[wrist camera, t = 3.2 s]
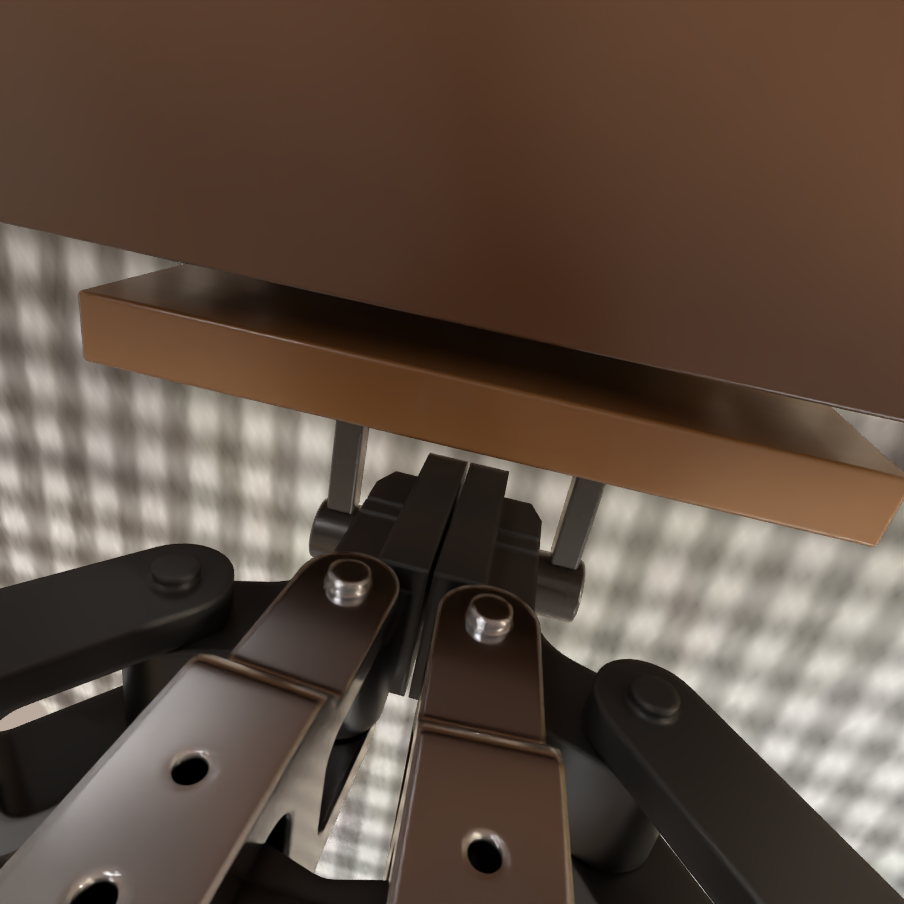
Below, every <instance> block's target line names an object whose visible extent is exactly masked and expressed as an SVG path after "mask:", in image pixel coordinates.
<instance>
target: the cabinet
mask: <svg viewBox="0 0 904 904" xmlns="http://www.w3.org/2000/svg"><path fill="white" fill-rule="evenodd" d="M0 222H1V223H5V224H10V225H14V226H19V227H23V228H28V229H32V230H37V231H41V232H46V233H50V234H55V235H59V236H64V237H69V238H73V239H78V240H82V241H87V242H91V243H96V244H100V245H105V246H109V247H114V248H118V249H123V250H127V251H132V252H136V253H141V254H145V255H150V256H154V257H159V258H163V259H168V260H172V261H177V262H181V263H186V264H190V265H195V266H199V267H204V268H208V269H213V270H217V271H222V272H226V273H231V274H235V275H240V276H245V277H249V278H254V279H258V280H263V281H267V282H272V283H276V284H281V285H285V286H290V287H294V288H299V289H303V290H308V291H312V292H317V293H321V294H326V295H330V296H335V297H339V298H344V299H348V300H353V301H357V302H362V303H366V304H371V305H375V306H380V307H384V308H389V309H393V310H398V311H402V312H407V313H412V314H416V315H421V316H425V317H430V318H434V319H439V320H443V321H448V322H452V323H457V324H461V325H466V326H470V327H475V328H479V329H484V330H488V331H493V332H497V333H502V334H506V335H511V336H515V337H520V338H524V339H529V340H533V341H538V342H542V343H547V344H551V345H556V346H560V347H565V348H569V349H574V350H578V351H583V352H588V353H592V354H597V355H601V356H606V357H610V358H615V359H619V360H624V361H628V362H633V363H637V364H642V365H646V366H651V367H655V368H660V369H664V370H669V371H673V372H678V373H682V374H687V375H691V376H696V377H700V378H705V379H709V380H714V381H718V382H723V383H727V384H732V385H736V386H741V387H745V388H750V389H754V390H759V391H764V392H768V393H773V394H777V395H782V396H786V397H791V398H795V399H800V400H804V401H809V402H813V403H818V404H822V405H827V406H831V407H836V408H840V409H845V410H849V411H854V412H858V413H863V414H867V415H872V416H876V417H881V418H885V419H890V420H894V421H899V422H903V423H904V0H0Z"/></svg>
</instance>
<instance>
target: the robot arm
mask: <svg viewBox="0 0 904 904" xmlns="http://www.w3.org/2000/svg"><path fill="white" fill-rule="evenodd" d="M467 466H468V462H466V461H462V460H458V459H454V458H450V457H445V456H441V455H437V454H433V453H430V454H429V455H428V457H427V459H426V461H425V463H424V465H423V467H422V469H421V471H420V473H419V475H418V477H417V476H413V475H409V474H405V473H401V472H397V471H396V472H394V473H392V474H390V475H388V476H386V477H384V478H383V479H381V480H379V481H377V482H376V484H375V486H374V487H373V489H372V490H371V492H370V494H369V495H368V498H367V499H366V500H365V502H364V503H363V505H362V507H361V508H360V512H358V513H357V515H356V516H355V518H354V520H353V521H352V523H351V524H350V526H349V528H348V529H347V531H346V533H345V534H344V536H343V537H342V539H341V541H340V542H339V544H338V545H337V547H336V549H335V550H334V552H329V553H325V554H321V555H318V556H316V557H314V558H312V559H310V560H309V561H307V562H306V563H305V564H304V565H303V566H302V567H301V568H300V569H299V570H298V572H297V573H296V574H295V575H294V576H293V578H292V579H291V580H289V581H280V582H255V581H234V569H233V565H232V564H231V562H230V560H229V559H228V558H227V557H226V556H225V555H223V554H222V553H220V552H219V551H217V550H214V549H212V548H209V547H206V546H202V545H196V544H170V545H164V546H159V547H155V548H151V549H147V550H143V551H140V552H136V553H132V554H128V555H125V556H121V557H117V558H113V559H110V560H106V561H102V562H98V563H95V564H91V565H87V566H83V567H80V568H76V569H72V570H68V571H65V572H61V573H57V574H53V575H49V576H46V577H42V578H38V579H34V580H31V581H27V582H23V583H19V584H16V585H12V586H8V587H4V588H1V589H0V720H1V719H2V718H4V717H5V716H6V715H8V714H9V713H11V712H12V711H14V710H16V709H19V708H21V707H23V706H26V705H29V704H31V703H34V702H36V701H39V700H42V699H44V698H47V697H50V696H52V695H55V694H58V693H60V692H63V691H66V690H68V689H71V688H74V687H76V686H79V685H82V684H84V683H87V682H90V681H92V680H95V679H98V678H100V677H103V676H105V675H108V674H111V673H113V672H116V671H119V670H121V669H122V676H123V686H120V687H117V688H115V689H112V690H110V691H107V692H105V693H102V694H100V695H97V696H95V697H92V698H89V699H87V700H84V701H82V702H79V703H77V704H74V705H72V706H69V707H67V708H64V709H61V710H59V711H56V712H54V713H51V714H49V715H46V716H44V717H41V718H39V719H36V720H33V721H31V722H28V723H26V724H23V725H21V726H19V727H16V728H13V729H10V730H6V731H1V732H0V904H713V903H712V901H713V902H714V904H904V899H903V898H902V897H901V896H900V895H899V894H898V893H897V892H896V891H895V890H894V889H893V888H892V887H891V886H890V885H889V884H888V883H887V882H886V881H885V880H884V879H883V878H882V877H881V876H880V875H879V874H878V873H877V872H876V871H875V870H874V869H873V868H872V867H871V866H870V865H869V864H868V863H867V862H866V861H865V860H864V859H863V858H862V857H861V856H860V855H859V854H858V853H857V852H856V851H855V850H854V849H853V848H852V847H851V846H850V845H849V844H848V843H847V842H846V841H845V840H844V839H843V838H842V837H841V836H840V835H839V834H838V833H837V832H836V831H835V830H834V829H833V828H832V827H831V826H830V825H829V824H828V823H827V822H826V821H825V820H824V819H823V818H822V817H821V816H820V815H819V814H818V813H817V812H816V811H815V810H814V809H813V808H812V807H811V806H810V805H809V804H808V803H807V802H806V801H805V800H804V799H803V798H802V797H801V796H800V795H799V794H798V793H797V792H796V791H795V790H793V789H792V788H791V787H790V786H789V785H788V784H787V783H786V782H785V781H784V780H783V779H782V778H781V777H780V776H779V775H778V774H777V773H776V772H775V771H774V770H773V769H772V768H771V767H770V766H769V765H768V764H767V763H766V762H765V761H764V760H763V759H762V758H761V757H760V756H759V755H758V754H757V753H756V752H755V751H754V750H753V749H752V748H751V747H750V746H749V745H748V744H747V743H746V742H745V741H744V740H743V739H742V738H741V737H740V736H739V735H738V734H737V733H736V732H735V731H734V730H733V729H732V728H731V727H730V726H729V725H728V724H727V723H726V722H725V721H724V720H723V719H722V718H721V717H720V716H719V715H718V714H717V713H716V712H715V711H714V710H713V709H712V708H711V707H710V706H709V705H708V704H707V703H706V702H705V701H704V700H703V699H702V698H701V697H700V696H699V695H698V694H697V693H696V692H695V691H694V690H693V689H692V688H691V687H689V686H688V685H687V684H686V683H685V682H684V681H683V680H681V679H680V678H678V677H677V676H676V675H674V674H673V673H671V672H669V671H667V670H666V669H664V668H661V667H659V666H657V665H654V664H651V663H648V662H645V661H640V660H633V659H620V660H615V661H612V662H610V663H607V664H606V665H604V666H603V667H602V668H601V669H600V670H599V671H598V672H597V673H596V672H594V671H592V670H590V669H588V668H586V667H584V666H582V665H580V664H578V663H576V662H575V661H573V660H571V659H569V658H568V657H566V656H564V655H563V654H562V653H560V652H559V651H558V650H556V649H555V648H554V647H553V646H552V645H551V644H550V643H549V642H548V641H547V640H546V639H545V637H544V636H543V634H542V633H541V628H540V622H539V620H538V617H537V615H536V614H535V600H536V588H537V575H538V562H539V550H540V537H541V524H542V521H541V519H540V518H539V516H538V514H537V513H536V511H535V509H534V507H533V506H532V504H529V503H525V502H521V501H517V500H513V499H509V498H505V497H504V495H505V490H506V485H507V480H508V475H509V471H505V470H500V469H496V468H492V467H488V466H484V465H479V464H475V463H471V464H470V467H469V470H468V473H467V476H466V472H467ZM465 477H466V479H465ZM464 481H465V482H464ZM416 657H417V658H416ZM415 660H416V663H415ZM414 663H415V668H414V673H413V678H412V683H411V688H410V693H409V698H413V699H416V700H418V703H417V708H416V713H415V717H414V723H413V727H412V731H411V736H410V741H409V745H408V750H407V755H406V761H405V766H404V771H403V777H402V782H401V787H400V793H399V798H398V803H397V809H396V814H395V819H394V825H393V830H392V835H391V840H390V846H389V851H388V856H387V862H386V867H385V872H384V877H383V880H333V879H326V878H323V877H320V876H318V875H316V874H314V873H315V870H316V867H317V864H318V861H319V858H320V856H321V853H322V851H323V849H324V846H325V844H326V842H327V839H328V837H329V835H330V833H331V831H332V828H333V826H334V824H335V822H336V819H337V817H338V815H339V813H340V810H341V808H342V806H343V804H344V801H345V799H346V797H347V795H348V792H349V790H350V788H351V786H352V783H353V781H354V779H355V777H356V774H357V772H358V770H359V768H360V765H361V763H362V761H363V759H364V756H365V754H366V752H367V750H368V748H369V745H370V743H371V741H372V738H373V735H374V731H375V726H376V722H377V720H378V719H379V717H380V715H381V713H382V711H383V708H384V705H385V702H386V699H387V696H388V693H389V692H390V693H393V694H397V695H401V696H404V695H405V692H406V689H407V686H408V682H409V679H410V676H411V673H412V670H413V667H414ZM660 834H661V835H662V837H663V838H664V839H665V840H666V842H667V843H668V844H669V846H670V847H671V848H672V849H673V851H674V852H675V853H676V855H677V856H678V857H679V859H680V860H681V861H682V862H683V864H684V865H685V866H686V868H687V869H688V870H689V871H690V873H691V874H692V875H693V877H694V878H695V879H696V880H697V882H698V883H699V884H700V886H701V887H702V888H703V889H704V891H705V892H706V893H707V895H708V896H709V897H710V898H711V900H712V901H711V900H710V899H709V897H708V896H707V895H706V894H705V892H704V891H703V890H702V888H701V887H700V886H699V884H698V883H697V882H696V881H695V879H694V878H693V877H692V875H691V874H690V873H689V872H688V870H687V869H686V868H685V866H684V865H683V864H682V863H681V861H680V860H679V859H678V857H677V856H676V855H675V853H674V852H673V851H672V850H671V848H670V847H669V846H668V844H667V843H666V842H665V841H664V839H663V838H662V837H661V835H660Z"/></svg>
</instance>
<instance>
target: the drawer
mask: <svg viewBox="0 0 904 904" xmlns="http://www.w3.org/2000/svg"><path fill="white" fill-rule="evenodd" d="M78 298H79V310H80V321H81V333H82V345H83V357H84V359H85V360H87V361H90V362H94V363H98V364H102V365H106V366H111V367H115V368H119V369H123V370H128V371H132V372H136V373H140V374H144V375H149V376H153V377H157V378H161V379H166V380H170V381H174V382H178V383H182V384H187V385H191V386H195V387H199V388H204V389H208V390H212V391H216V392H220V393H225V394H229V395H233V396H237V397H242V398H246V399H250V400H254V401H258V402H263V403H267V404H271V405H275V406H280V407H284V408H288V409H292V410H296V411H301V412H305V413H309V414H313V415H318V416H322V417H326V418H330V419H334V420H336V426H335V436H334V445H333V455H332V464H331V474H330V483H329V493H328V498H327V499H325V500H324V501H323V502H322V504H321V506H320V507H319V509H318V511H317V513H316V516H315V519H314V522H313V525H312V529H311V533H310V539H309V552H310V555H311V556H312V557H316V556H318V555H321V554H325V553H329V552H334V550H335V549H336V547H337V545H338V544H339V542H340V541H341V539H342V537H343V536H344V534H345V533H346V531H347V529H348V528H349V526H350V524H351V523H352V521H353V520H354V518H355V516H356V515H357V513H358V512H360V508H361V507H362V505H358V503H359V502H360V494H361V487H362V479H363V471H364V464H365V456H366V449H367V441H368V433H369V428H372V429H377V430H381V431H385V432H389V433H393V434H398V435H402V436H406V437H410V438H415V439H419V440H423V441H427V442H431V443H436V444H440V445H444V446H448V447H453V448H457V449H461V450H465V451H469V452H474V453H478V454H482V455H486V456H491V457H495V458H499V459H503V460H507V461H512V462H516V463H520V464H524V465H529V466H533V467H537V468H541V469H545V470H550V471H554V472H558V473H562V474H567V475H571V476H573V478H572V481H571V484H570V487H569V491H568V494H567V497H566V501H565V504H564V507H563V511H562V514H561V517H560V521H559V524H558V527H557V531H556V534H555V537H554V541H553V544H552V547H551V552H548V551H544V550H539V562H538V575H537V588H536V600H535V614H537V615H541V616H545V617H549V618H553V619H557V620H560V621H564V622H571V621H572V620H573V619H574V617H575V616H576V613H577V611H578V608H579V605H580V601H581V597H582V593H583V587H584V581H585V564H584V562H583V561H582V560H581V557H582V554H583V551H584V548H585V545H586V542H587V539H588V536H589V533H590V530H591V527H592V524H593V521H594V518H595V515H596V512H597V509H598V506H599V503H600V500H601V497H602V494H603V491H604V488H605V484H609V485H613V486H617V487H621V488H626V489H630V490H634V491H638V492H643V493H647V494H651V495H655V496H659V497H664V498H668V499H672V500H676V501H681V502H685V503H689V504H693V505H697V506H702V507H706V508H710V509H714V510H719V511H723V512H727V513H731V514H735V515H740V516H744V517H748V518H752V519H757V520H761V521H765V522H769V523H773V524H778V525H782V526H786V527H790V528H795V529H799V530H803V531H807V532H811V533H816V534H820V535H824V536H828V537H833V538H837V539H841V540H845V541H849V542H854V543H858V544H862V545H866V546H871V547H874V546H876V545H877V544H878V542H879V541H880V539H881V537H882V535H883V534H884V532H885V530H886V529H887V527H888V525H889V523H890V522H891V520H892V518H893V516H894V515H895V513H896V511H897V510H898V508H899V506H900V504H901V503H902V501H903V499H904V473H903V472H902V471H901V470H900V469H899V468H898V467H897V466H896V465H894V464H893V463H892V462H891V461H890V460H889V459H888V458H887V457H886V456H885V455H883V454H882V453H881V452H880V451H879V450H878V449H877V448H876V447H875V446H874V445H872V444H871V443H870V442H869V441H868V440H867V439H866V438H865V437H864V436H863V435H861V434H860V433H859V432H858V431H857V430H856V429H855V428H854V427H853V426H852V425H850V424H849V423H848V422H847V421H846V420H845V419H844V418H843V417H842V416H841V415H839V414H838V413H837V412H836V411H835V410H834V409H833V408H832V407H831V406H827V405H822V404H818V403H813V402H809V401H804V400H800V399H795V398H791V397H786V396H782V395H777V394H773V393H768V392H764V391H759V390H754V389H750V388H745V387H741V386H736V385H732V384H727V383H723V382H718V381H714V380H709V379H705V378H700V377H696V376H691V375H687V374H682V373H678V372H673V371H669V370H664V369H660V368H655V367H651V366H646V365H642V364H637V363H633V362H628V361H624V360H619V359H615V358H610V357H606V356H601V355H597V354H592V353H588V352H583V351H578V350H574V349H569V348H565V347H560V346H556V345H551V344H547V343H542V342H538V341H533V340H529V339H524V338H520V337H515V336H511V335H506V334H502V333H497V332H493V331H488V330H484V329H479V328H475V327H470V326H466V325H461V324H457V323H452V322H448V321H443V320H439V319H434V318H430V317H425V316H421V315H416V314H412V313H407V312H402V311H398V310H393V309H389V308H384V307H380V306H375V305H371V304H366V303H362V302H357V301H353V300H348V299H344V298H339V297H335V296H330V295H326V294H321V293H317V292H312V291H308V290H303V289H299V288H294V287H290V286H285V285H281V284H276V283H272V282H267V281H263V280H258V279H254V278H249V277H245V276H240V275H235V274H231V273H226V272H222V271H217V270H213V269H208V268H204V267H199V266H195V265H190V264H183V265H179V266H175V267H171V268H167V269H163V270H159V271H156V272H152V273H148V274H144V275H140V276H136V277H132V278H128V279H124V280H120V281H116V282H112V283H108V284H104V285H100V286H96V287H92V288H89V289H85V290H81V291H80V292H79V294H78Z"/></svg>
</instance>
